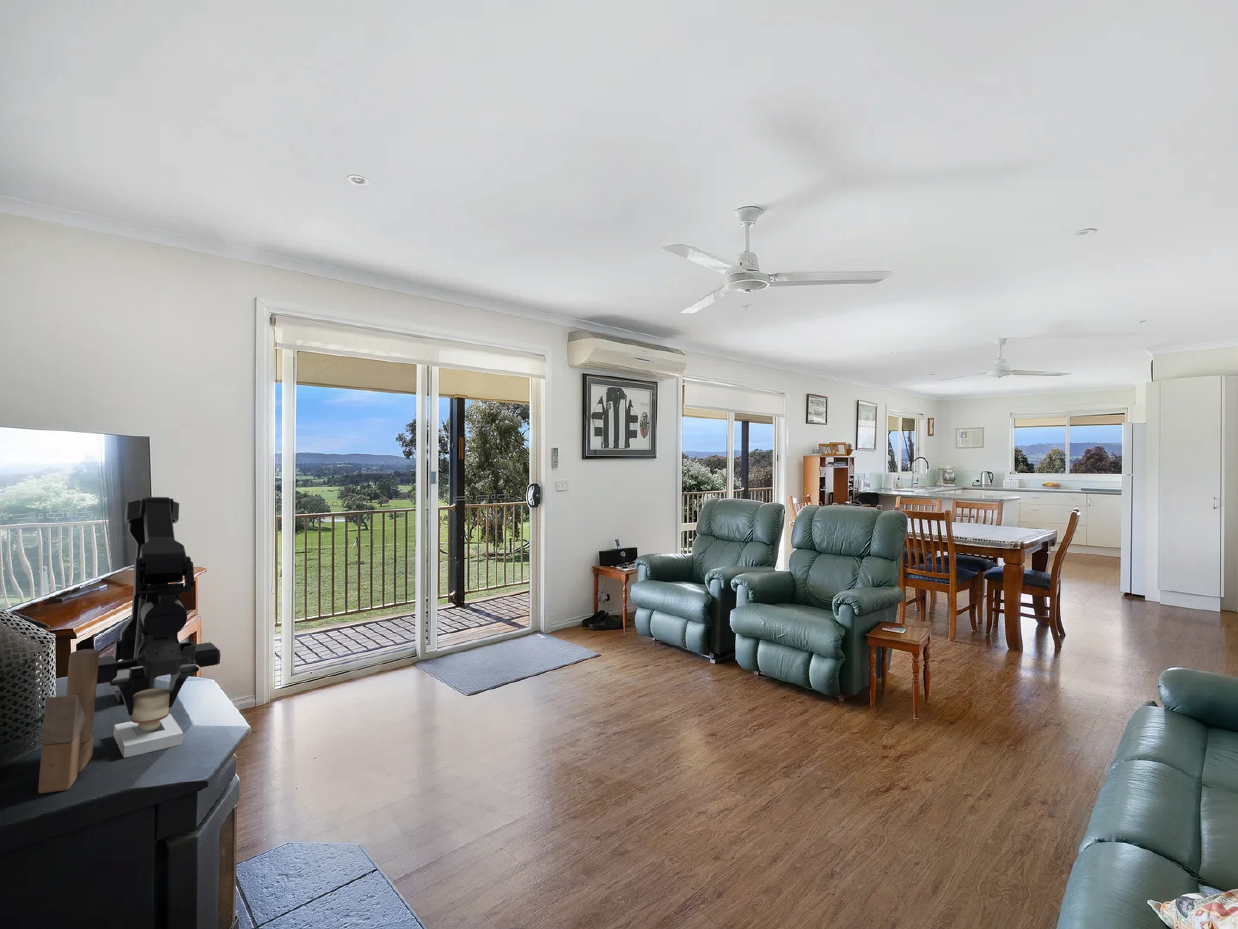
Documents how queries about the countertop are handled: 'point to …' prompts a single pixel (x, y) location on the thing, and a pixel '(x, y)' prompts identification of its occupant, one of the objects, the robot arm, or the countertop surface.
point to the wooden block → (69, 725)
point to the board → (147, 737)
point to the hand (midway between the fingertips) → (150, 711)
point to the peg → (150, 708)
